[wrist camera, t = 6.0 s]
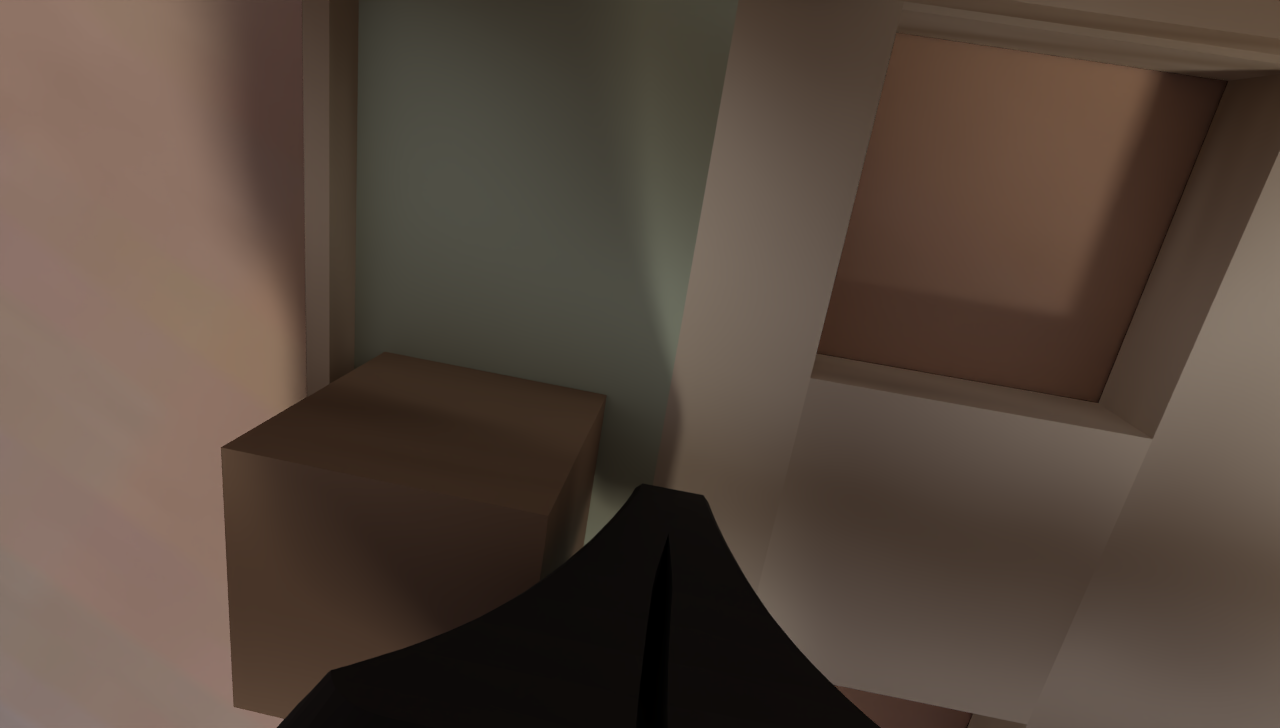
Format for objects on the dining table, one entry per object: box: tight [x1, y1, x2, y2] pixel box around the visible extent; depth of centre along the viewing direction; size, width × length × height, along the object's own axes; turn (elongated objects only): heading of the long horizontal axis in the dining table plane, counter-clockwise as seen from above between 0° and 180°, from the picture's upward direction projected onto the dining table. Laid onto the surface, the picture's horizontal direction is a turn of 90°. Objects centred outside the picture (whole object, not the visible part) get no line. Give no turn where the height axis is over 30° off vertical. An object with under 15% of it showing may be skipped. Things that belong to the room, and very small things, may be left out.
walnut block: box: [221, 352, 607, 719], centre depth 10 cm, size 4×4×4 cm
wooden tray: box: [302, 0, 1280, 728], centre depth 12 cm, size 18×24×2 cm
